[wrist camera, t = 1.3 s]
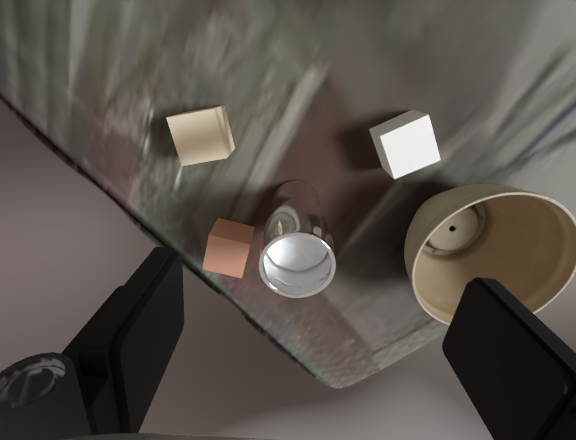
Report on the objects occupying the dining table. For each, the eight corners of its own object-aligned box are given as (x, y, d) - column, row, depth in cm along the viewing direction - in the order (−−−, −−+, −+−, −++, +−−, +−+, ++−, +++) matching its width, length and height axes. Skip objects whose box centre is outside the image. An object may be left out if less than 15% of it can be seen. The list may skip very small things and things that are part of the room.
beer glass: (279, 233, 42) (272, 308, 28) (260, 186, 39) (243, 244, 25) (329, 218, 41) (347, 288, 27) (313, 169, 38) (325, 220, 24)
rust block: (218, 217, 41) (208, 234, 36) (254, 226, 41) (250, 244, 37) (212, 249, 43) (202, 269, 38) (247, 257, 43) (241, 278, 39)
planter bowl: (459, 134, 36) (522, 155, 26) (534, 218, 40) (613, 263, 30) (358, 227, 41) (379, 274, 31) (434, 292, 45) (474, 352, 35)
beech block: (182, 112, 35) (166, 117, 31) (224, 104, 35) (214, 108, 30) (195, 155, 38) (181, 165, 33) (235, 148, 37) (227, 158, 33)
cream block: (368, 128, 36) (379, 136, 31) (411, 109, 35) (428, 114, 30) (382, 167, 38) (394, 179, 33) (422, 150, 37) (440, 160, 32)
